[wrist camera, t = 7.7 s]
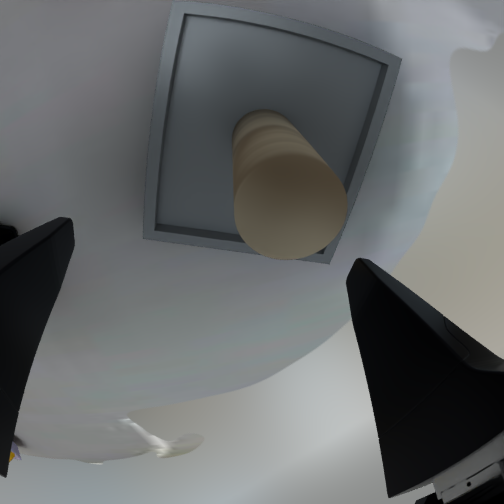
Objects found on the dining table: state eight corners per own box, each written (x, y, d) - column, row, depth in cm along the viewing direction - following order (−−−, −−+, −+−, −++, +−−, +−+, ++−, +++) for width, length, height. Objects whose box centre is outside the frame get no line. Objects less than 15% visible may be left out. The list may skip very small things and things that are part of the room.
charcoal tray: (323, 250, 25) (329, 264, 24) (148, 225, 23) (143, 238, 21) (389, 57, 16) (402, 58, 15) (177, 5, 14) (173, 0, 12)
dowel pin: (286, 173, 20) (325, 265, 12) (226, 162, 20) (225, 252, 11) (301, 117, 18) (362, 173, 10) (239, 103, 17) (247, 146, 9)
